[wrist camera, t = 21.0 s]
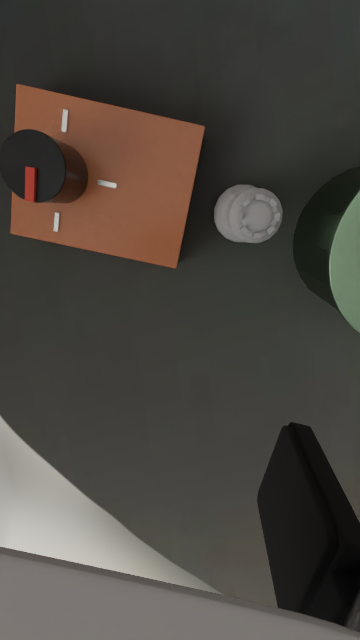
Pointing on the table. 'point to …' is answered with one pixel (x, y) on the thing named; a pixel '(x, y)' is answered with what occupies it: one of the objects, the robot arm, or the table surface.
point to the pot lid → (346, 262)
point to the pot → (321, 230)
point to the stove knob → (42, 168)
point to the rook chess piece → (247, 214)
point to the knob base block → (113, 177)
